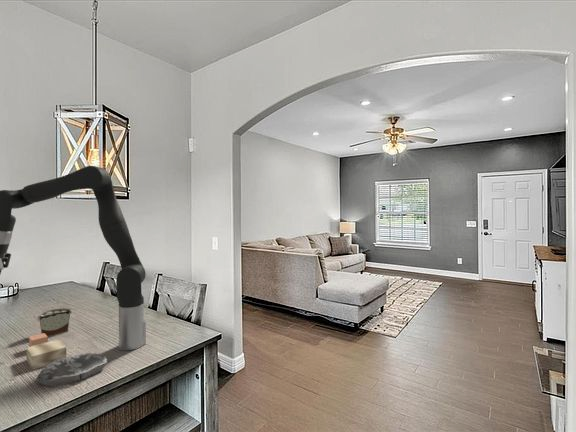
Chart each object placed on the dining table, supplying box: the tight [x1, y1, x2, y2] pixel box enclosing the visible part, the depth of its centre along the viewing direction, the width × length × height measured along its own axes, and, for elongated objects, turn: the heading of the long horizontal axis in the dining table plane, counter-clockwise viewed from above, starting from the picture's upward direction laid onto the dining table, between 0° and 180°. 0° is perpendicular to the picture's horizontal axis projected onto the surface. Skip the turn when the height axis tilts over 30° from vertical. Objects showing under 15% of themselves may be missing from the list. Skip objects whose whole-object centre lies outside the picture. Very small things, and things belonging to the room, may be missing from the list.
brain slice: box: [37, 352, 108, 388], centre depth 107 cm, size 20×17×3 cm
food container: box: [37, 307, 73, 337], centre depth 139 cm, size 12×6×10 cm, turn 141°
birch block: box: [26, 338, 67, 371], centre depth 116 cm, size 10×10×5 cm
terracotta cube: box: [28, 333, 49, 347], centre depth 124 cm, size 5×5×5 cm
